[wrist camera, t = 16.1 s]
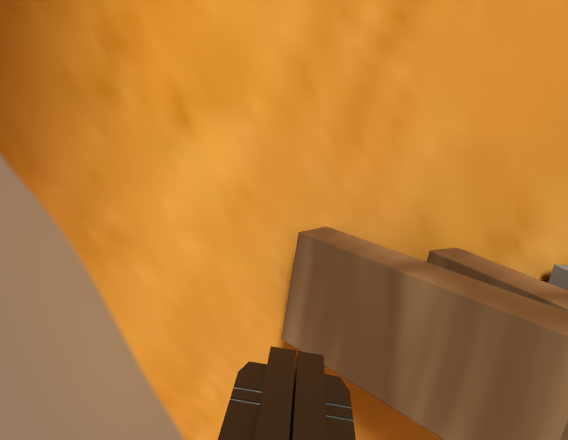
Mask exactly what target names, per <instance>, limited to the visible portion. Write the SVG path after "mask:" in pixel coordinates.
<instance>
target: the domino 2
mask: <svg viewBox="0 0 568 440" xmlns="http://www.w3.org/2000/svg"><path fill="white" fill-rule="evenodd" d="M427 262H428V263H430V264H433V265H436V266H439V267H442V268H445V269H448V270H450V271H453V272H456V273H459V274H462V275H465V276H467V277H470V278H473V279H476V280H479V281H482V282H484V283H487V284H490V285H493V286H496V287H499V288H501V289H504V290H507V291H510V292H513V293H516V294H518V295H521V296H524V297H527V298H530V299H533V300H535V301H538V302H541V303H544V304H547V305H550V306H552V307H555V308H558V309H561V310H564V311H567V312H568V291H567V290H565V289H562V288H559V287H557V286H554V285H552V284H549V283H547V282H544V281H541V280H539V279H536V278H534V277H531V276H529V275H526V274H523V273H521V272H518V271H516V270H513V269H511V268H508V267H505V266H503V265H500V264H498V263H495V262H492V261H490V260H487V259H485V258H482V257H480V256H477V255H474V254H472V253H469V252H467V251H464V250H462V249H459V248H451V249H442V250H432V251H429V255H428V259H427ZM560 440H568V421H567V424H566V426H565V429H564V431H563V434H562V436H561V439H560Z"/></svg>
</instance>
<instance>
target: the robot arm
mask: <svg viewBox="0 0 568 440" xmlns="http://www.w3.org/2000/svg"><path fill="white" fill-rule="evenodd" d="M295 356H296V351H295V350H289V349H283V348H278V347H272V346H271V348H270V353H269V359H268V364H267V365H266V364H260V363H255V362H248V363H247V364H246V365H245V366H244V367H243V368H242V369H241V370H240V371H239V372H238V374H237V378H236V381H235V384H234V389H233V391H232V394H231V398H230V401H229V404H228V408H227V411H226V414H225V418H224V421H223V424H222V428H221V431H220V434H219V438H218V440H356V439H355V431H354V423H353V416H352V409H351V401H350V393H349V390H348V388H347V387H346V385H345V384H344V382H343V381H342V379H341V378H340V377H336V376H331V375H325V374H324V357H323V355H319V354H313V353H307V352H302V351H298V352H297V357H296V362H295Z"/></svg>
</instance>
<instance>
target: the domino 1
mask: <svg viewBox="0 0 568 440" xmlns="http://www.w3.org/2000/svg"><path fill="white" fill-rule="evenodd" d="M282 340H284V341H286V342H287V343H289V344H290V345H292V346H294V347H295V348H297V349H299V350H300V351H302V352H307V353H313V354H319V355H323V357H324V366H326V367H328V368H329V369H331V370H332V371H334V372H336V373H337V374H339V375H340V376H342V377H344V378H345V379H347V380H348V381H350V382H352V383H353V384H355V385H356V386H358V387H360V388H361V389H363V390H365V391H366V392H368V393H369V394H371V395H373V396H374V397H376V398H377V399H379V400H381V401H382V402H384V403H385V404H387V405H389V406H390V407H392V408H394V409H395V410H397V411H398V412H400V413H402V414H403V415H405V416H406V417H408V418H410V419H411V420H413V421H414V422H416V423H418V424H419V425H421V426H422V427H424V428H426V429H427V430H429V431H431V432H432V433H434V434H435V435H437V436H439V437H440V438H442V439H443V440H560V439H561V436H562V434H563V431H564V429H565V426H566V424H567V421H568V312H567V311H564V310H561V309H558V308H555V307H552V306H550V305H547V304H544V303H541V302H538V301H535V300H533V299H530V298H527V297H524V296H521V295H518V294H516V293H513V292H510V291H507V290H504V289H501V288H499V287H496V286H493V285H490V284H487V283H484V282H482V281H479V280H476V279H473V278H470V277H467V276H465V275H462V274H459V273H456V272H453V271H450V270H448V269H445V268H442V267H439V266H436V265H433V264H430V263H428V262H425V261H422V260H419V259H416V258H413V257H411V256H408V255H405V254H402V253H399V252H396V251H394V250H391V249H388V248H385V247H382V246H379V245H377V244H374V243H371V242H368V241H365V240H362V239H360V238H357V237H354V236H351V235H348V234H345V233H343V232H340V231H337V230H334V229H331V228H328V227H323V228H318V229H313V230H308V231H303V232H299V234H298V240H297V246H296V252H295V259H294V265H293V271H292V277H291V283H290V290H289V296H288V302H287V308H286V314H285V321H284V327H283V333H282Z"/></svg>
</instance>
